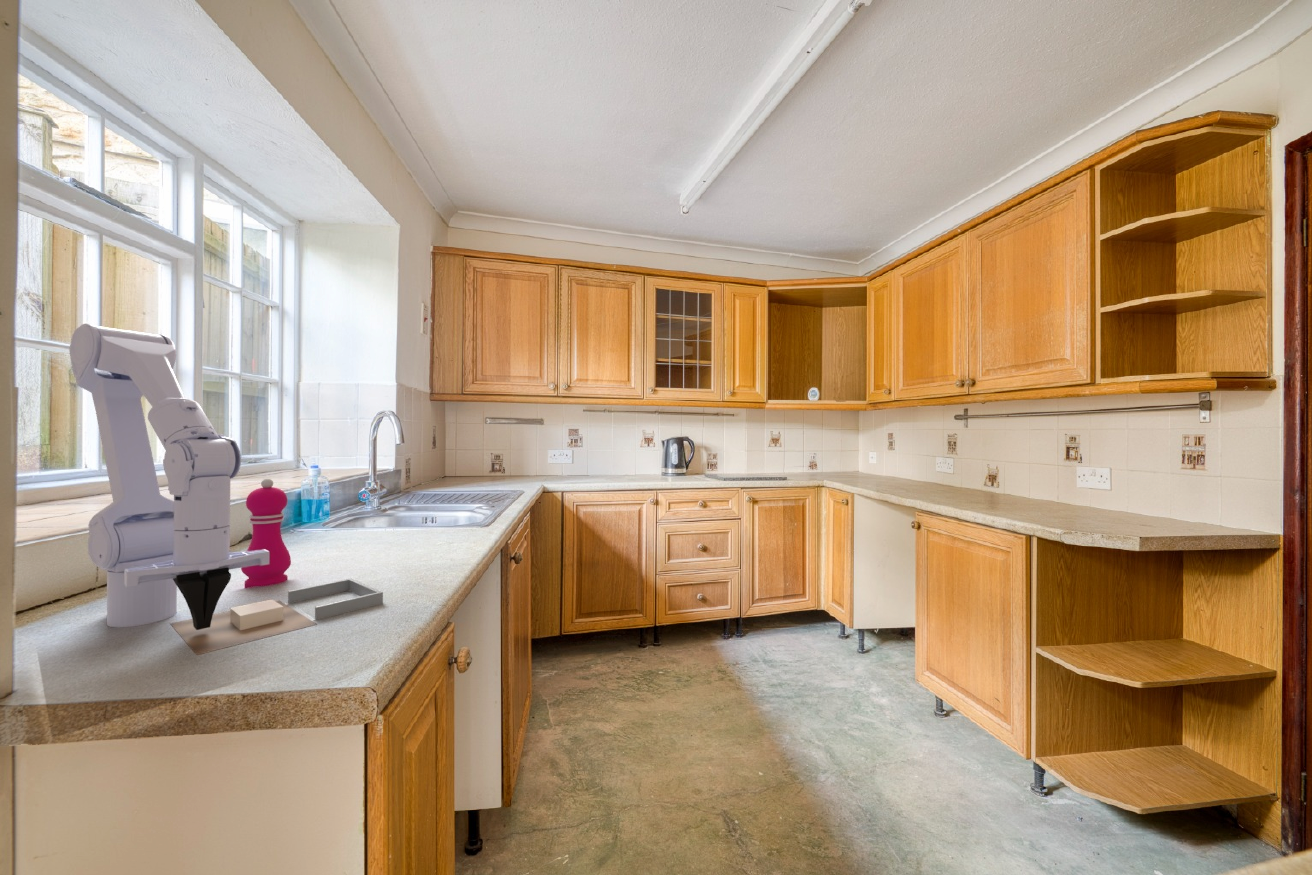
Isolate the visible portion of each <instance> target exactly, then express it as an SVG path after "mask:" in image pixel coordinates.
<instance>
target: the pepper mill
mask: <svg viewBox="0 0 1312 875" xmlns="http://www.w3.org/2000/svg"><path fill="white" fill-rule="evenodd" d="M260 486H261V487H259V488H256V489H254V490H252V491H251V492H250V493H249V494H248V496H247V497H246V499H245V500H246V501H245V506H246V509H248V511H249V512H250V513H251V515H249V518H250V519H249V524H251V525H252V537H251V541H250V544H249V546H248V547H247V550H246V551H255V550H263V549H265V550H267V551H269V564H268V565H255V566H248V567H242V568H240V569H241V572H242V573H243V574H244V575H245V576H246V578H247V579H245V580H244V589H249V588H255V587H257V588H258V587H268V586H274V585H278V584H282V583H284V582H286V581H288V575H287V574H285V573H286V571H287V570H289V568H290V566H291V565H292V561H291V555H290V551H289V549H288V548H287V546H286V544H285V542H284V540H283V537H282V533H281V532H282V530H281V527H282V522H283V521H284V520H285V518H284V515H285V514H284V512H282V511H283V510H284V509H285V508H286V507H287V505H288V496H287V493H285V492H284V491H283V490H282V489H280V488H278V487H273V486H274V481H273V480H272V479H271V478H264V479H263V480H261V483H260Z"/></svg>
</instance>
